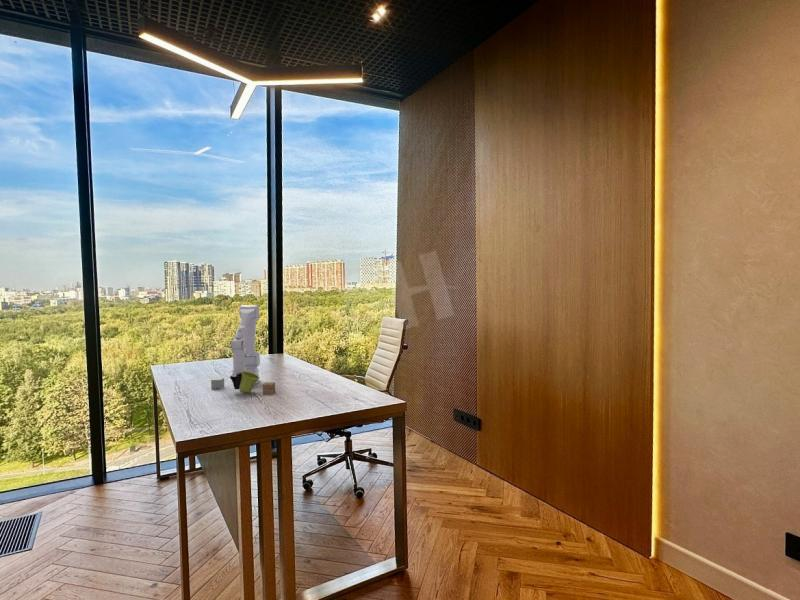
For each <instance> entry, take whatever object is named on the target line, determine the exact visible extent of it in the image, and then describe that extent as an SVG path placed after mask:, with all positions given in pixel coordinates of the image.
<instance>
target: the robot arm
mask: <svg viewBox="0 0 800 600" xmlns="http://www.w3.org/2000/svg"><path fill="white" fill-rule="evenodd" d="M238 312H239V316H240V324H239V327H237V329H236V331H235V335H234V339H232V340H231V343H230V348H231V353H232V362H233V363H232V364H233V365H232V369H231V371H230V372H231V375H230V376H229V378H230V381H231V382H232V385H233V388H234V390H240V389H239V387H240V383H241V378H242V372H244V371H245V372H251V373H254V374H256V375H258V376H259V375H260V374H259V372H260V371H259V368H258V367H260V365H261V364H260V363H261V358H260V352H258V351H257V350H256V349H255V346H256V329H257V328H256V327H257V325H256V324H257V321H259V320H260V306H258V304H256V305H254V304H253V305H249V304H248V305H247V304H246V305H242V304H241V305H240V306H239V308H238ZM259 377H260V376H259ZM260 381H261V379H260V378H259V379H258V381H257V382H256V383H255V385H257V384H258V383H259V382H260Z"/></svg>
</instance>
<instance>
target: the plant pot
mask: <svg viewBox="0 0 800 600" xmlns="http://www.w3.org/2000/svg"><path fill="white" fill-rule="evenodd" d="M258 379H259V380H260V376H258V375H256V374H254V373H251V372H245V371H244V372H242V378H241V383H240V387H239V389H238V390H239V391H240V392H243V393H248V394H250V393H252V390H253V389H254V387H255V385H256V384H257V383H256V382H257V381H258ZM255 383H256V384H255Z"/></svg>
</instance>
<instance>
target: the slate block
mask: <svg viewBox="0 0 800 600" xmlns="http://www.w3.org/2000/svg"><path fill="white" fill-rule="evenodd" d="M210 382H211V384H210V385H211V390H216V389H215V388H222V387H223V388H225V377H214V378H212V379H211V380H210ZM223 388H222V389H223Z"/></svg>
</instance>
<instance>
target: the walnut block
mask: <svg viewBox="0 0 800 600" xmlns="http://www.w3.org/2000/svg"><path fill="white" fill-rule="evenodd" d="M273 392H274V393H275V392H276V382H275V381H271V382H270V381H265V382H264V383H262V394H263V393H273ZM274 393H273V394H274Z"/></svg>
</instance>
